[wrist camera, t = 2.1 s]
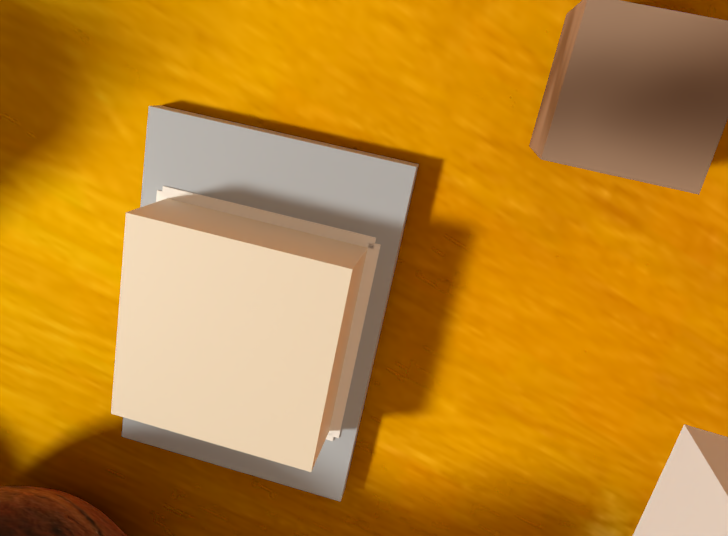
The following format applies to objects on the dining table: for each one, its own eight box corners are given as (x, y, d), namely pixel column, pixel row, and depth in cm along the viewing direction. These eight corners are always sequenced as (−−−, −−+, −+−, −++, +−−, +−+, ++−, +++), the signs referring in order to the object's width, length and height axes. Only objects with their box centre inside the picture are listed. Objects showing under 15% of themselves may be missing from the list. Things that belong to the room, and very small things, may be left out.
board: (160, 105, 32) (102, 108, 27) (418, 164, 30) (407, 178, 25) (132, 426, 38) (80, 476, 33) (344, 488, 37) (323, 551, 32)
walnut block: (566, 14, 27) (589, -6, 22) (702, 40, 27) (762, 27, 21) (529, 145, 29) (540, 159, 24) (655, 173, 28) (698, 194, 23)
